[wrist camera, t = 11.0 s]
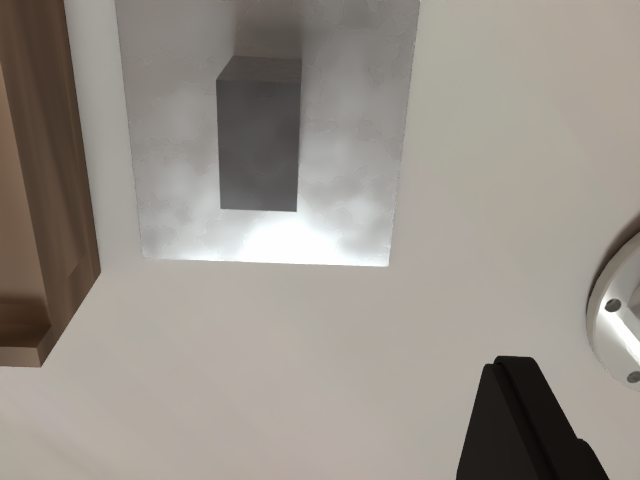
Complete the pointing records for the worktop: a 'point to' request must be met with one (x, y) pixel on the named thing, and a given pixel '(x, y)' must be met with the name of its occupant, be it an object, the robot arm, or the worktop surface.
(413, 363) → the worktop surface
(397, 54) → the cover plate
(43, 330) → the walnut box
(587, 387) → the worktop surface
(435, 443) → the worktop surface
